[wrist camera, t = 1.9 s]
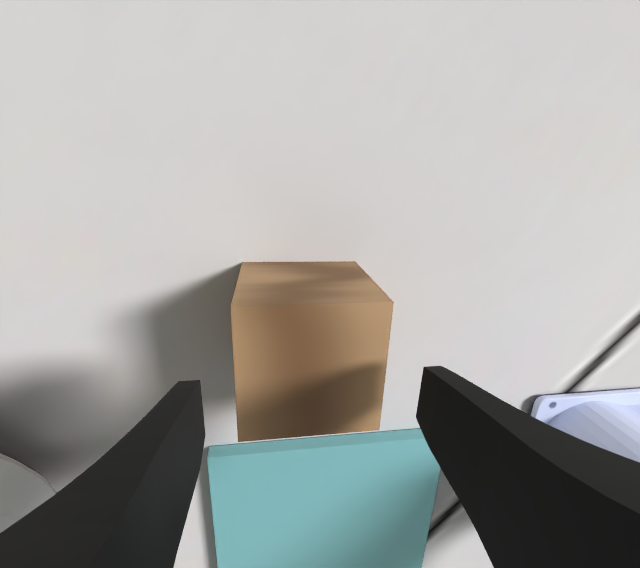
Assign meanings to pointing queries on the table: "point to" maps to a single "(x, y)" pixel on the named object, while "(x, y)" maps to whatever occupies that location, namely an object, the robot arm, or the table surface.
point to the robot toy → (20, 491)
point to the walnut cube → (308, 349)
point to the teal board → (323, 501)
